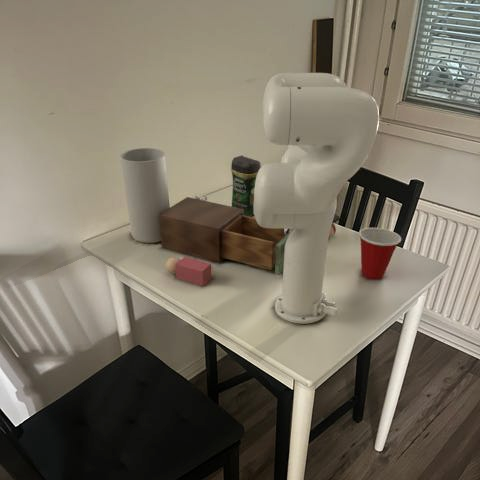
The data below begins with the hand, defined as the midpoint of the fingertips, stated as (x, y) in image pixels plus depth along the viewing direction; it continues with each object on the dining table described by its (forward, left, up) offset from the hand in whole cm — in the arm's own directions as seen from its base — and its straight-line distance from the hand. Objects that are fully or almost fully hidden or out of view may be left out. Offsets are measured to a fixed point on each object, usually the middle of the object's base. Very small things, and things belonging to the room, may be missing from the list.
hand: (296, 254), depth 133 cm
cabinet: (+30, 0, -5) cm, 30 cm away
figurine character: (+1, -19, -5) cm, 19 cm away
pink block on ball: (+24, +17, -5) cm, 30 cm away
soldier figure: (+43, -21, -5) cm, 48 cm away
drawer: (+9, 0, -4) cm, 9 cm away
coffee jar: (+30, -28, -5) cm, 41 cm away
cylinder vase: (+48, +1, -5) cm, 48 cm away
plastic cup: (-20, -8, -5) cm, 22 cm away
